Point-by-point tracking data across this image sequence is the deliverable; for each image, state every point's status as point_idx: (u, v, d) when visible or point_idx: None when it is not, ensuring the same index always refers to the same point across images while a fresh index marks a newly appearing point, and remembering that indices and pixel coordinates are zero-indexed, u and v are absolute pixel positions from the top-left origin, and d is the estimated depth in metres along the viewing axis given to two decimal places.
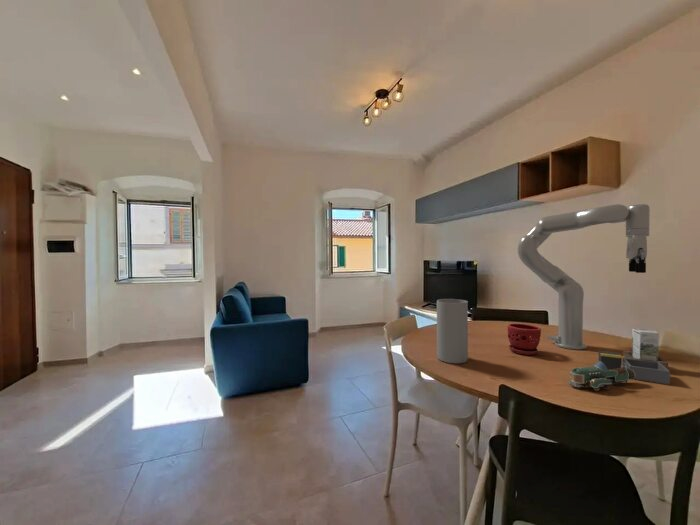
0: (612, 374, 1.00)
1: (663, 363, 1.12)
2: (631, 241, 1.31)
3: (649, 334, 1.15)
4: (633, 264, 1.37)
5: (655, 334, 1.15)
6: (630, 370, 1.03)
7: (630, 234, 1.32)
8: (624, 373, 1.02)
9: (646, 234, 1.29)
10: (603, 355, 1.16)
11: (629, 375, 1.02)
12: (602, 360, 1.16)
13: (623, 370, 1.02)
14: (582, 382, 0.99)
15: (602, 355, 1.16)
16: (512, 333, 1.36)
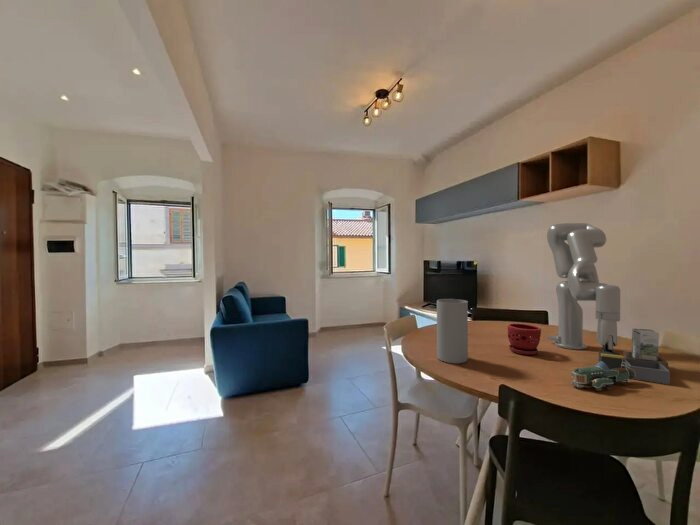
0: (613, 374, 1.01)
1: (663, 363, 1.12)
2: (600, 326, 1.19)
3: (649, 334, 1.15)
4: None
5: (655, 334, 1.15)
6: (630, 370, 1.03)
7: (600, 318, 1.20)
8: (625, 373, 1.02)
9: (616, 320, 1.17)
10: (603, 355, 1.15)
11: (629, 375, 1.02)
12: (602, 360, 1.16)
13: (624, 370, 1.03)
14: (584, 382, 0.99)
15: (602, 355, 1.15)
16: (512, 333, 1.36)
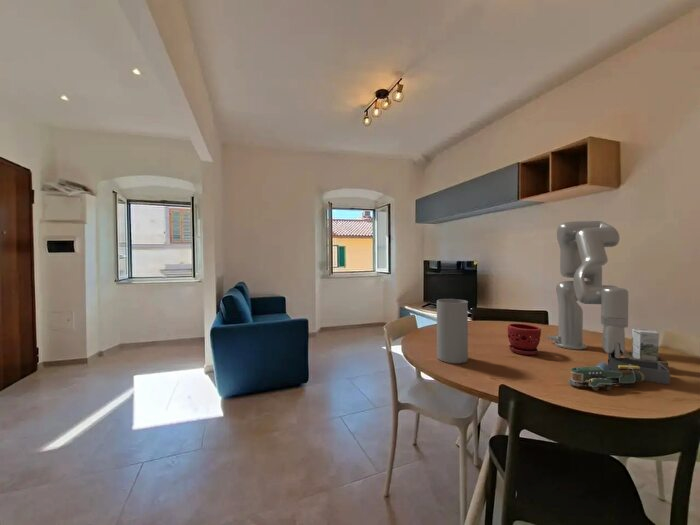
0: (615, 375, 0.99)
1: (663, 363, 1.12)
2: (606, 332, 1.09)
3: (649, 334, 1.15)
4: None
5: (655, 334, 1.15)
6: (638, 372, 1.01)
7: (605, 323, 1.10)
8: (630, 375, 1.00)
9: (624, 326, 1.07)
10: (622, 368, 1.03)
11: (636, 377, 1.00)
12: None
13: (629, 372, 1.01)
14: (581, 381, 1.00)
15: (620, 368, 1.03)
16: (512, 333, 1.36)
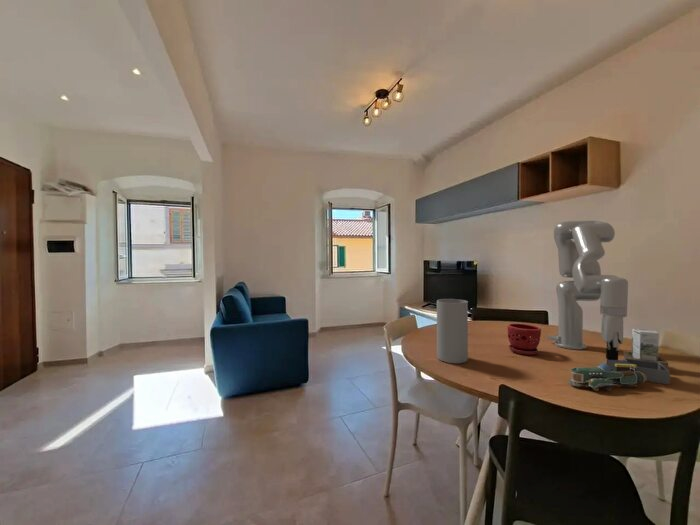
0: (616, 376, 0.99)
1: (663, 363, 1.12)
2: (605, 322, 1.10)
3: (649, 334, 1.15)
4: None
5: (655, 334, 1.15)
6: (639, 373, 1.00)
7: (604, 313, 1.11)
8: (631, 376, 1.00)
9: (623, 315, 1.08)
10: (618, 366, 1.05)
11: (637, 378, 0.99)
12: None
13: (631, 373, 1.00)
14: (581, 381, 0.99)
15: (617, 366, 1.05)
16: (512, 333, 1.36)
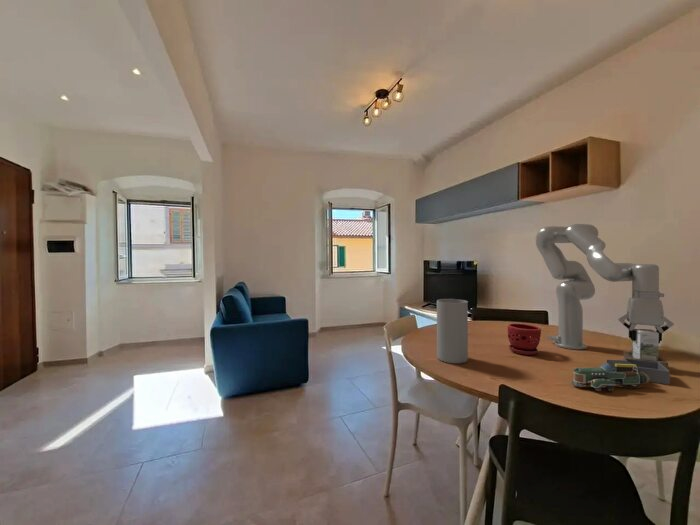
0: (619, 376, 0.99)
1: (663, 363, 1.12)
2: None
3: (649, 334, 1.15)
4: None
5: (655, 334, 1.15)
6: (642, 374, 1.00)
7: None
8: (634, 376, 0.99)
9: (636, 298, 1.17)
10: (618, 366, 1.05)
11: (640, 379, 0.99)
12: (617, 371, 1.05)
13: (634, 373, 1.00)
14: (583, 382, 0.99)
15: (617, 366, 1.05)
16: (512, 333, 1.36)
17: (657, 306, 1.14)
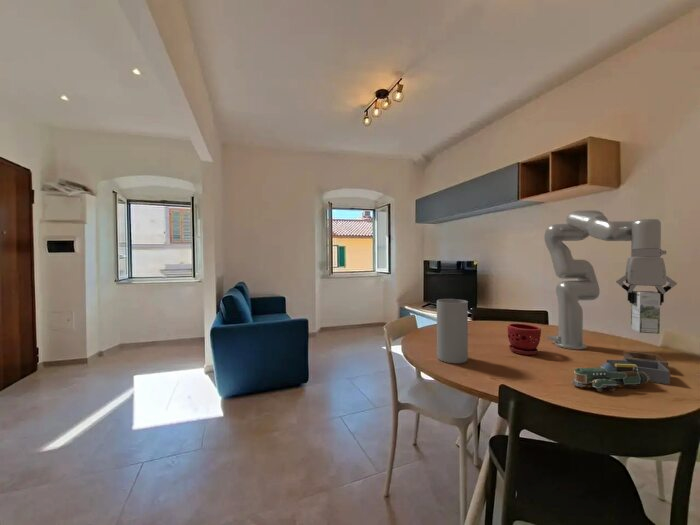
0: (620, 376, 0.99)
1: (663, 363, 1.12)
2: None
3: (650, 295, 1.06)
4: None
5: (656, 295, 1.05)
6: (643, 373, 1.00)
7: None
8: (635, 376, 0.99)
9: (636, 256, 1.08)
10: (618, 366, 1.05)
11: (641, 378, 0.99)
12: (617, 371, 1.05)
13: (634, 373, 1.00)
14: (585, 382, 0.99)
15: (617, 366, 1.05)
16: (512, 333, 1.36)
17: (659, 264, 1.05)
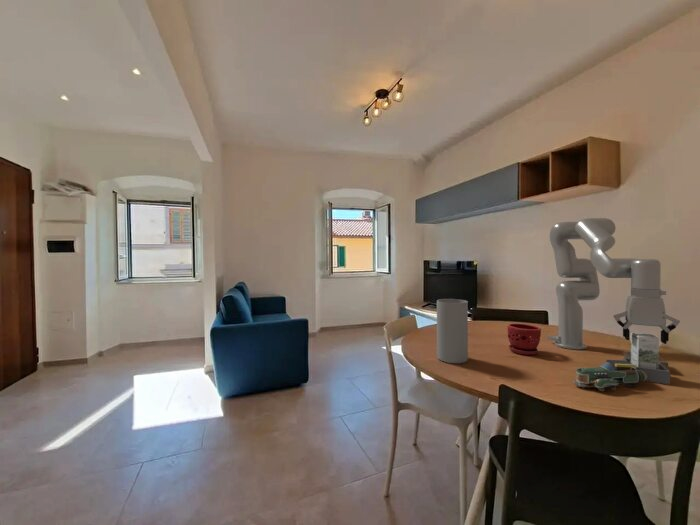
0: (620, 375, 0.99)
1: (663, 363, 1.12)
2: None
3: (649, 339, 1.06)
4: (661, 333, 1.06)
5: (655, 339, 1.05)
6: (640, 372, 1.01)
7: None
8: (633, 375, 1.00)
9: (635, 296, 1.08)
10: (618, 366, 1.05)
11: (639, 377, 1.00)
12: None
13: (632, 372, 1.01)
14: (587, 382, 0.99)
15: (617, 366, 1.05)
16: (512, 333, 1.36)
17: (659, 305, 1.05)
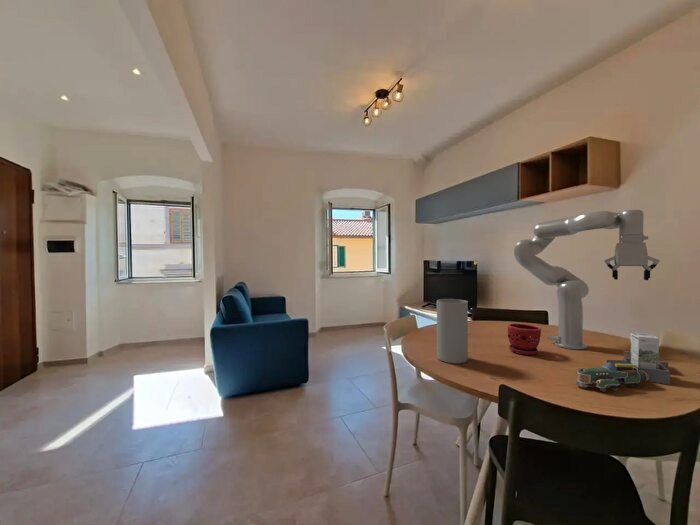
0: (621, 375, 0.99)
1: (663, 363, 1.12)
2: None
3: (649, 339, 1.06)
4: (644, 272, 1.26)
5: (655, 339, 1.05)
6: (642, 372, 1.01)
7: None
8: (635, 375, 1.00)
9: (623, 241, 1.27)
10: (619, 366, 1.05)
11: (641, 377, 1.00)
12: None
13: (634, 372, 1.01)
14: (588, 382, 0.99)
15: (618, 366, 1.05)
16: (512, 333, 1.36)
17: (642, 247, 1.24)
